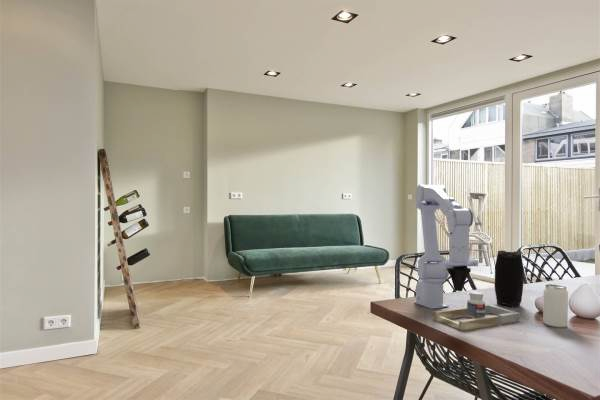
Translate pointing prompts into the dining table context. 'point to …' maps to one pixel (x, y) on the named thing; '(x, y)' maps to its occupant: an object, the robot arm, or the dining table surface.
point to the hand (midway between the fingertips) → (458, 290)
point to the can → (555, 306)
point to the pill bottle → (475, 305)
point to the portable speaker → (509, 278)
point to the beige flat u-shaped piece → (463, 325)
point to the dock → (502, 314)
